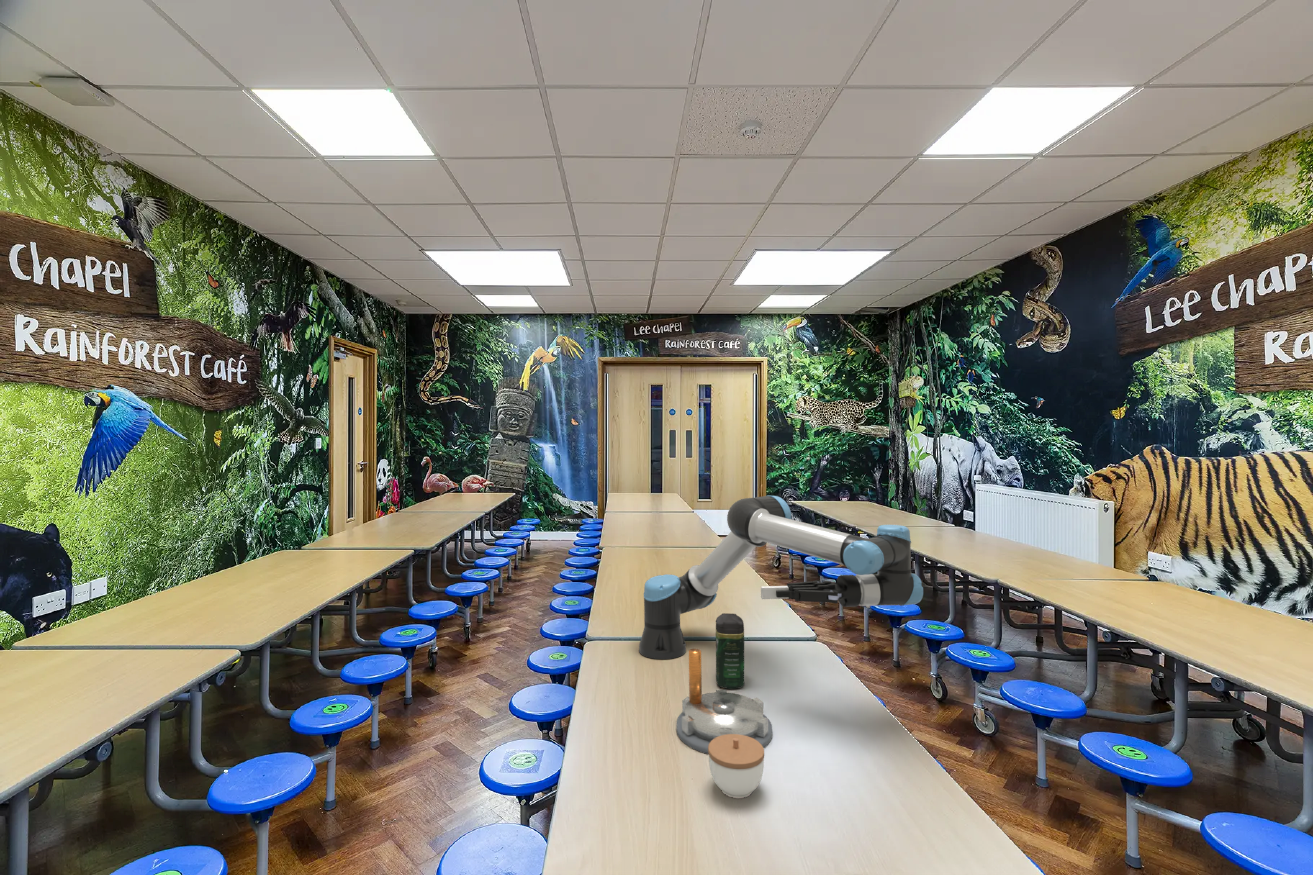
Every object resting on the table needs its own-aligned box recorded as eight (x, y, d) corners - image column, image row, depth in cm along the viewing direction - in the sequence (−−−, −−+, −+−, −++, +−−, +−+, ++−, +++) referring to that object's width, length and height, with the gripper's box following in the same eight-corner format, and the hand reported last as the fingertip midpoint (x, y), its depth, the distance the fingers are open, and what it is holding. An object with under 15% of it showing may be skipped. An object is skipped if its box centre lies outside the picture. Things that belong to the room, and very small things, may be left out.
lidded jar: (726, 812, 99) (726, 759, 99) (698, 780, 109) (698, 732, 109) (776, 797, 104) (775, 746, 104) (745, 767, 113) (744, 721, 114)
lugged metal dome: (781, 716, 131) (780, 652, 131) (747, 754, 115) (747, 681, 115) (704, 695, 142) (703, 637, 142) (663, 727, 126) (663, 661, 126)
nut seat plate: (657, 726, 130) (657, 719, 130) (723, 699, 144) (723, 693, 144) (724, 768, 113) (724, 760, 113) (792, 733, 127) (792, 725, 127)
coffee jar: (746, 690, 149) (745, 621, 149) (716, 690, 149) (716, 621, 150) (742, 675, 159) (742, 610, 159) (715, 675, 159) (714, 610, 160)
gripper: (868, 613, 129) (768, 616, 128) (846, 598, 142) (755, 601, 141) (867, 581, 129) (768, 583, 128) (845, 569, 142) (755, 571, 141)
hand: (761, 592), depth 134 cm, fingers closed
